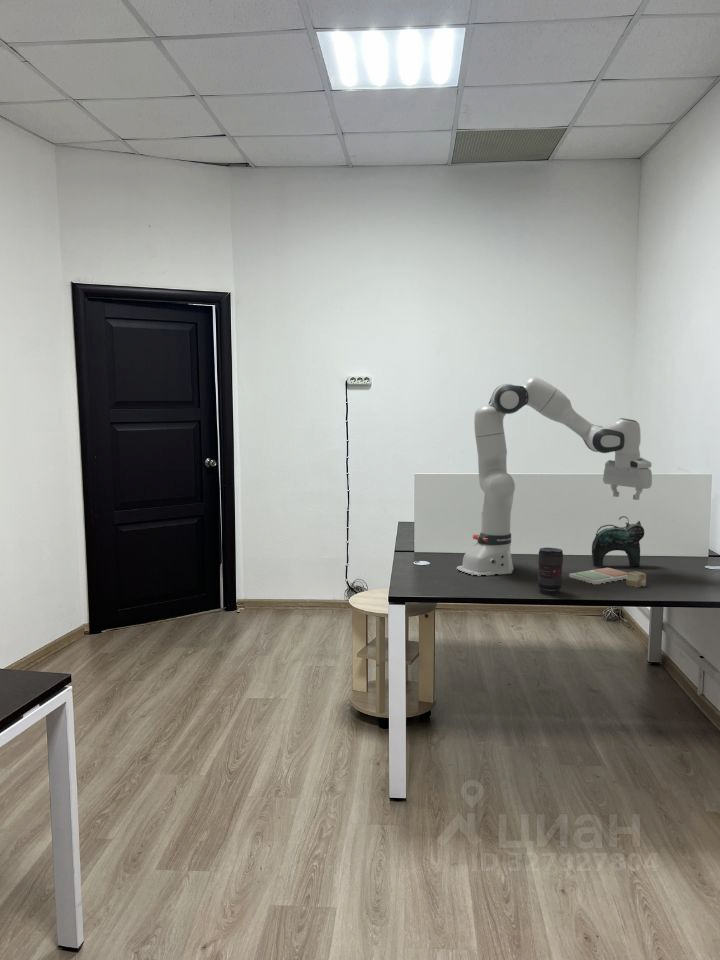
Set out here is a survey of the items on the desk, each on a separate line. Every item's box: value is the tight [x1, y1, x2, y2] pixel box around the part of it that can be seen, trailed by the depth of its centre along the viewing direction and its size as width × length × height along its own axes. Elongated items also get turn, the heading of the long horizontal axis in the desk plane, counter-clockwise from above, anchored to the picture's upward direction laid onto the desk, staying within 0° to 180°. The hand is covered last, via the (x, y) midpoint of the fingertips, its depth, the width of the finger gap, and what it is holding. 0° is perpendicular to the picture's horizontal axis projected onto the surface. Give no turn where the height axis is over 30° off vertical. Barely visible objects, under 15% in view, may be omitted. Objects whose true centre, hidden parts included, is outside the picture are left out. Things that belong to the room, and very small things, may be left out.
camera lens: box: [537, 547, 564, 595], centre depth 249 cm, size 8×8×15 cm
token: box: [626, 570, 647, 588], centre depth 258 cm, size 4×4×4 cm
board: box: [568, 567, 628, 586], centre depth 270 cm, size 20×13×2 cm, turn 118°
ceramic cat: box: [591, 515, 645, 567], centre depth 287 cm, size 20×6×20 cm, turn 89°
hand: (625, 498), depth 275 cm, fingers open, 8 cm apart
